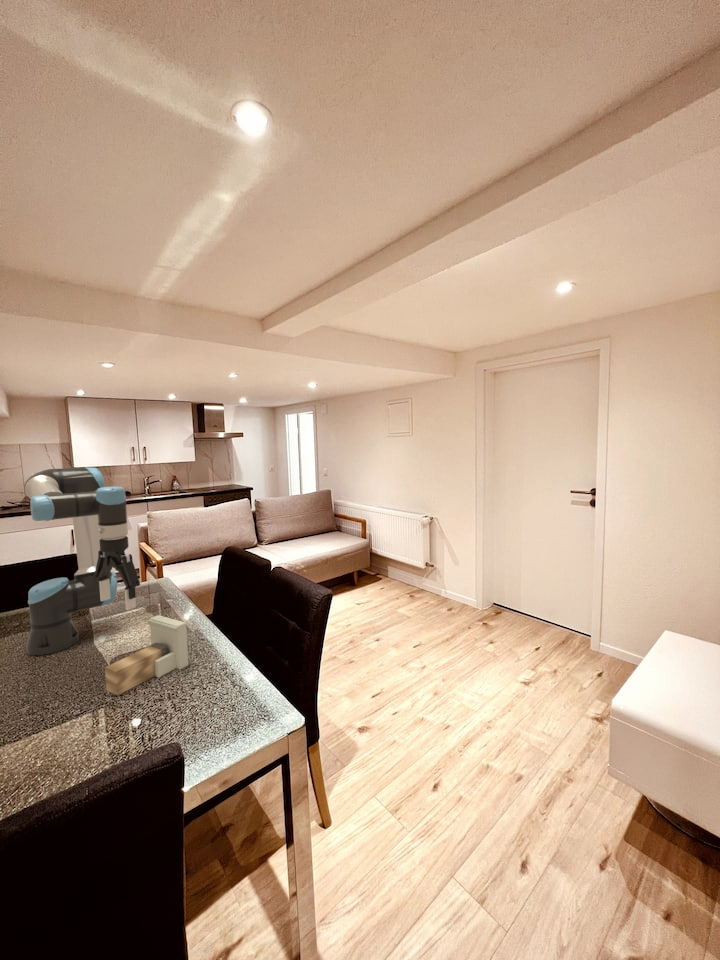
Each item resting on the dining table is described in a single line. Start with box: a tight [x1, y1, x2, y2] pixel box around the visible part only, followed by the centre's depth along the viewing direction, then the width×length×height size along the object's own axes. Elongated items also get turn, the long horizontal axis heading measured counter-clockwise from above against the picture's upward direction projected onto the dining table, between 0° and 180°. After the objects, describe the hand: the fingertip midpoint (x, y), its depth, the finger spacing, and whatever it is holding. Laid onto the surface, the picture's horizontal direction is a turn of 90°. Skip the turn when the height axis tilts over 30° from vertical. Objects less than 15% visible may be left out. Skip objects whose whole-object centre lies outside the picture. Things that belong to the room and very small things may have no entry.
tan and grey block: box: [104, 643, 168, 697], centre depth 121 cm, size 16×6×7 cm, turn 151°
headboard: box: [147, 614, 189, 678], centre depth 128 cm, size 14×9×14 cm, turn 61°
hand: (117, 604), depth 126 cm, fingers open, 13 cm apart
